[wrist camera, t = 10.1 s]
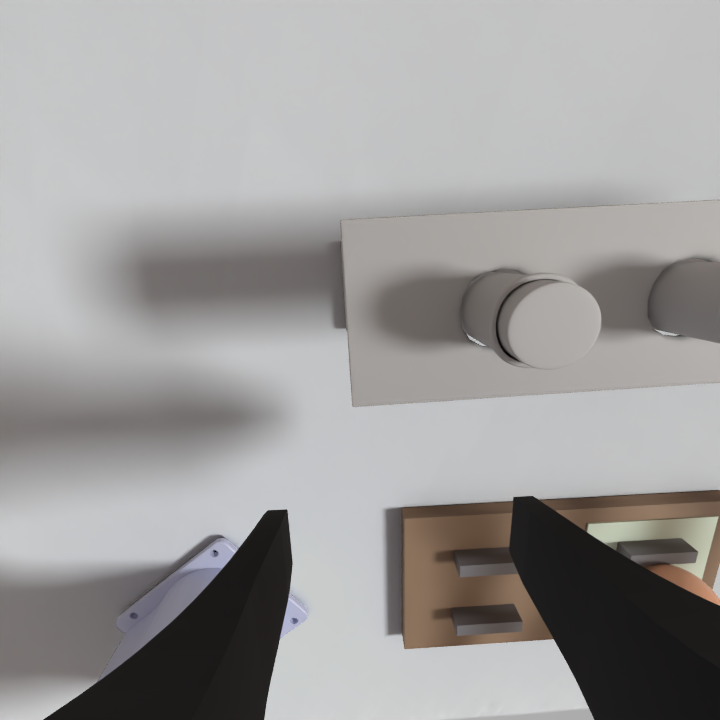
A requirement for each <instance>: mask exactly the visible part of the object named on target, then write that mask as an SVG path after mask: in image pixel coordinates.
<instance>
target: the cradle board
mask: <svg viewBox="0 0 720 720" xmlns="http://www.w3.org/2000/svg"><path fill="white" fill-rule="evenodd" d="M540 501H541V502H543V503H544V504H546V505H547V506H549V507H550V508H552V509H553V510H555V511H556V512H558V513H559V514H561V515H562V516H564V517H565V518H567V519H568V520H570V521H571V522H572V523H574V524H575V525H577V526H578V527H580V528H581V529H583V530H584V531H586V532H587V533H589V534H590V535H592V536H594V537H595V538H597V539H598V540H600V541H601V542H603V543H604V544H606V545H608V546H609V547H611V548H612V549H614V550H616V551H617V552H619V553H621V554H622V555H624V556H626V557H627V558H629V559H631V560H632V561H634V562H636V563H637V564H639V565H641V566H655V565H662V564H667V565H673V566H677V567H679V568H682V569H685V570H687V571H689V572H690V573H692V574H694V575H695V576H697V577H698V578H700V579H701V580H702V581H703V582H705V583H706V584H707V585H708V586H709V587H710V588H711V589H713V585H714V582H715V578H716V574H717V571H718V567H719V563H720V490H717V491H699V492H680V493H662V494H644V495H626V496H608V497H589V498H571V499H553V500H540ZM512 510H513V502H498V503H480V504H462V505H444V506H425V507H407V508H402V636H403V642H404V649H413V648H428V647H443V646H458V645H473V644H488V643H503V642H518V641H532V640H547V639H553V637H552V635H551V633H550V632H549V630H548V628H547V626H546V624H545V623H544V621H543V619H542V617H541V616H540V614H539V612H538V610H537V609H536V607H535V605H534V603H533V601H532V600H531V598H530V596H529V594H528V592H527V591H526V589H525V587H524V585H523V583H522V581H521V579H520V576H519V574H518V572H517V569H516V567H515V564H514V562H513V559H512V557H511V554H510V552H509V544H510V533H511V521H512Z"/></svg>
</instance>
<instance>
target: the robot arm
mask: <svg viewBox="0 0 720 720" xmlns="http://www.w3.org/2000/svg"><path fill="white" fill-rule="evenodd" d="M213 550H216V551H217V552H214V551H213ZM509 552H510V554H511V557H512V559H513V562H514V564H515V567H516V569H517V572H518V574H519V576H520V579H521V581H522V583H523V585H524V587H525V589H526V591H527V592H528V594H529V596H530V598H531V600H532V601H533V603H534V605H535V607H536V609H537V610H538V612H539V614H540V616H541V617H542V619H543V621H544V623H545V624H546V626H547V628H548V630H549V632H550V633H551V635H552V637H553V639H554V640H555V642H556V644H557V646H558V647H559V649H560V651H561V653H562V655H563V656H564V658H565V660H566V662H567V664H568V665H569V667H570V669H571V671H572V673H573V675H574V677H575V679H576V681H577V683H578V685H579V687H580V689H581V692H582V694H583V696H584V698H585V700H586V702H587V705H588V707H589V709H590V711H591V713H592V715H593V717H594V720H720V606H719V605H717V604H715V603H713V602H711V601H708V600H706V599H704V598H702V597H700V596H698V595H696V594H694V593H692V592H690V591H688V590H686V589H684V588H682V587H680V586H678V585H676V584H674V583H672V582H670V581H668V580H666V579H665V578H663V577H661V576H659V575H657V574H655V573H653V572H651V571H650V570H648V569H646V568H644V567H643V566H641V565H639V564H637V563H636V562H634V561H632V560H631V559H629V558H627V557H626V556H624V555H622V554H621V553H619V552H617V551H616V550H614V549H612V548H611V547H609V546H608V545H606V544H604V543H603V542H601V541H600V540H598V539H597V538H595V537H594V536H592V535H590V534H589V533H587V532H586V531H584V530H583V529H581V528H580V527H578V526H577V525H575V524H574V523H572V522H571V521H570V520H568V519H567V518H565V517H564V516H562V515H561V514H559V513H558V512H556V511H555V510H553V509H552V508H550V507H549V506H547V505H546V504H544V503H543V502H541V501H540V500H538V499H536V498H535V497H533V496H526V497H514V499H513V510H512V521H511V533H510V544H509ZM291 573H292V553H291V543H290V533H289V522H288V512H287V510H269V511H267V512H266V513H265V514H264V515H263V517H262V518H261V519H260V521H259V522H258V524H257V525H256V526H255V528H254V529H253V531H252V532H251V533H250V535H249V536H248V537H247V539H246V540H245V541H244V543H243V544H242V545H241V546H240V548H239V549H238V548H236V547H235V546H234V545H233V544H232V543H231V542H230V541H228V540H227V539H225V538H218V539H216V540H215V541H213V542H212V543H211V544H210V545H208V546H207V547H206V548H205V549H203V550H202V551H201V552H199V553H198V554H197V555H196V556H194V557H193V558H192V559H190V560H189V561H188V562H187V563H185V564H184V565H183V566H182V567H180V568H179V569H178V570H176V571H175V572H174V573H173V574H171V575H170V576H169V577H168V578H166V579H165V580H164V581H162V582H161V583H160V584H159V585H157V586H156V587H155V588H154V589H152V590H151V591H150V592H148V593H147V594H146V595H145V596H143V597H142V598H141V599H139V600H138V601H137V602H136V603H134V604H133V605H132V606H131V607H129V608H128V609H127V610H125V611H124V612H123V613H122V614H120V615H119V617H118V618H117V620H116V622H115V624H116V626H117V628H119V629H120V630H121V631H123V632H124V633H126V634H125V635H124V637H123V639H122V640H121V642H120V644H119V646H118V647H117V649H116V651H115V652H114V654H113V656H112V657H111V659H110V661H109V663H108V664H107V666H106V668H105V669H104V671H103V673H102V675H101V676H100V678H99V680H98V681H97V683H96V684H94V685H93V686H92V687H90V688H89V689H87V690H86V691H85V692H83V693H82V694H80V695H79V696H78V697H76V698H75V699H73V700H72V701H70V702H69V703H67V704H66V705H64V706H63V707H61V708H60V709H58V710H57V711H55V712H54V713H53V714H51V715H50V716H48V717H47V718H45V719H44V720H264V716H265V709H266V702H267V697H268V691H269V686H270V681H271V676H272V672H273V667H274V663H275V658H276V654H277V649H278V645H279V640H280V638H281V637H283V636H284V635H285V634H287V633H288V632H290V631H291V630H292V629H294V628H295V627H297V626H298V625H300V624H301V623H302V622H304V621H305V620H306V619H307V617H308V609H307V608H306V607H305V606H304V605H303V604H301V603H300V602H299V601H298V600H297V599H296V598H294V597H293V596H292V595H291V594H290V593H289V591H290V582H291Z"/></svg>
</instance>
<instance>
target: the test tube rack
mask: <svg viewBox="0 0 720 720" xmlns="http://www.w3.org/2000/svg"><path fill="white" fill-rule="evenodd" d="M341 238H342V241H341V258H342V273H343V288H344V304H345V319H346V330H347V332H348V348H349V363H350V379H351V393H352V406H353V407H359V406H375V405H391V404H406V403H421V402H436V401H451V400H466V399H481V398H496V397H511V396H526V395H541V394H556V393H571V392H585V391H600V390H615V389H630V388H645V387H660V386H675V385H690V384H705V383H720V200H704V201H686V202H667V203H648V204H629V205H610V206H592V207H573V208H554V209H535V210H516V211H497V212H478V213H460V214H441V215H422V216H404V217H386V218H368V219H350V220H341ZM654 329H656V330H660V331H665V332H669V333H674V334H678V335H677V336H670V335H662V334H661V333H659V332H657V331H656V330H654ZM467 334H468V335H469V336H471V337H473V338H474V339H476V340H478V341H479V342H481V343H483V344H484V345H486V346H481V345H479V344H477V343H475V342H473V341H472V340H470V339H469V338H468V336H467Z"/></svg>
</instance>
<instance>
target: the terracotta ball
mask: <svg viewBox="0 0 720 720" xmlns="http://www.w3.org/2000/svg"><path fill="white" fill-rule="evenodd" d="M643 567H644V568H646V569H648V570H650V571H651V572H653V573H655V574H657V575H659V576H661V577H663V578H665V579H666V580H668V581H670V582H672V583H674V584H676V585H678V586H680V587H682V588H684V589H686V590H688V591H690V592H692V593H694V594H696V595H698V596H700V597H702V598H704V599H706V600H708V601H711V602H713V603H715V604H717V605H719V606H720V600H719V598H718V596H717V595H716V594H715V593H714V591H713V590H712V589H711V588H710V587H709V586H708V585H707V584H706V583H705V582H703V581H702V580H701V579H700V578H698V577H697V576H695V575H694V574H692V573H690V572H689V571H687V570H685V569H682V568H679V567H677V566H673V565H667V564H662V565H655V566H643Z"/></svg>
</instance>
